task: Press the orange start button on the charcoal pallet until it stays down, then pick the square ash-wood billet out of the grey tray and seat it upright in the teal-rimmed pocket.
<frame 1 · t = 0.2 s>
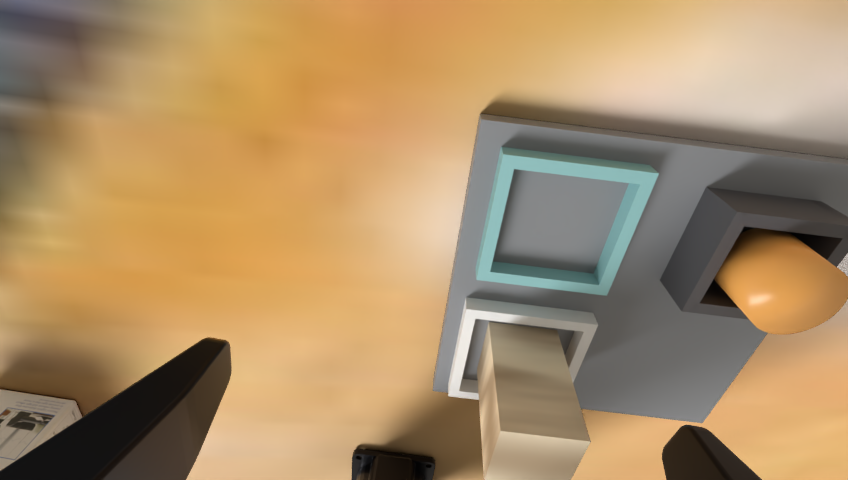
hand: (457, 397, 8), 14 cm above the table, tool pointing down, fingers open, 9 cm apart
billet: (515, 350, 26), point 1 cm above the table, touching pallet
light bulb box: (57, 430, 35), on the table
pallet: (608, 290, 24), on the table
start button: (774, 279, 18), point 4 cm above the table, slide at 0.0 cm
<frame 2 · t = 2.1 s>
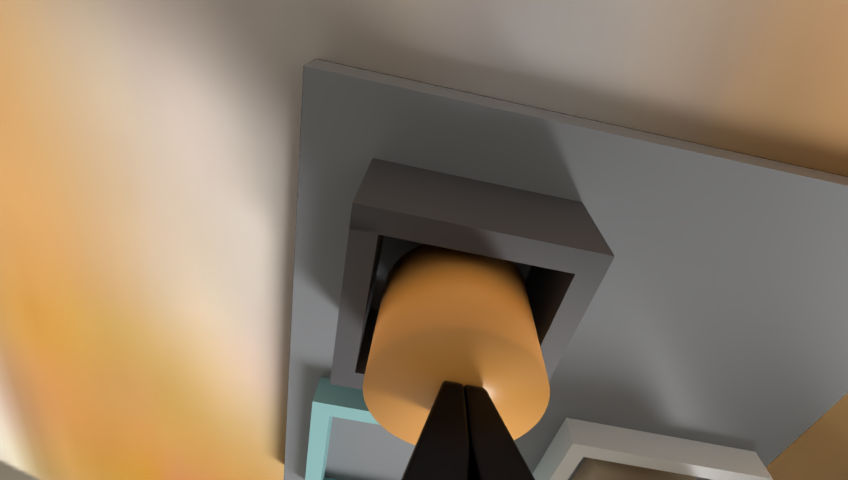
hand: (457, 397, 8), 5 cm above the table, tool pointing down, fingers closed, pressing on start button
pallet: (545, 374, 15), on the table
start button: (454, 341, 9), point 4 cm above the table, slide at 0.1 cm, touching gripper
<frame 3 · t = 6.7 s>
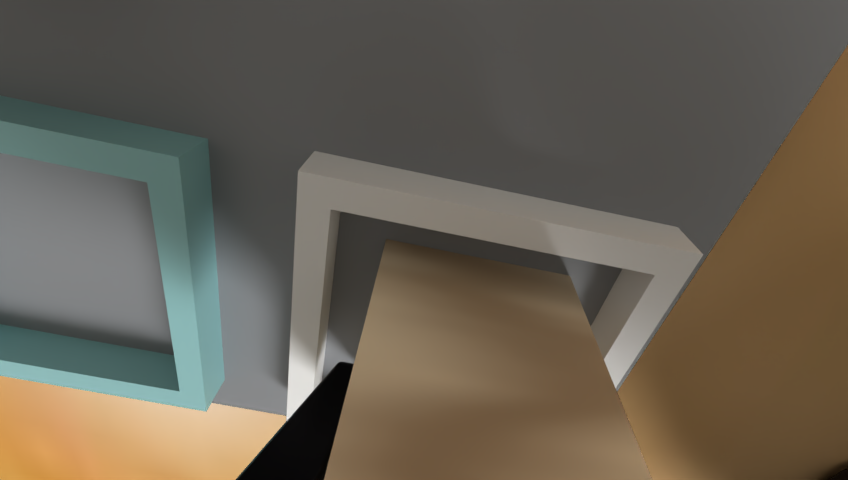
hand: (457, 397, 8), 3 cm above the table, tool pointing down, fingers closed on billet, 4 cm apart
billet: (456, 326, 10), point 1 cm above the table, touching gripper, pallet
pallet: (285, 80, 8), on the table
when the fingers open (4 cm above the table, at t = 10.9 s): billet moves 1 cm, resting on pallet.
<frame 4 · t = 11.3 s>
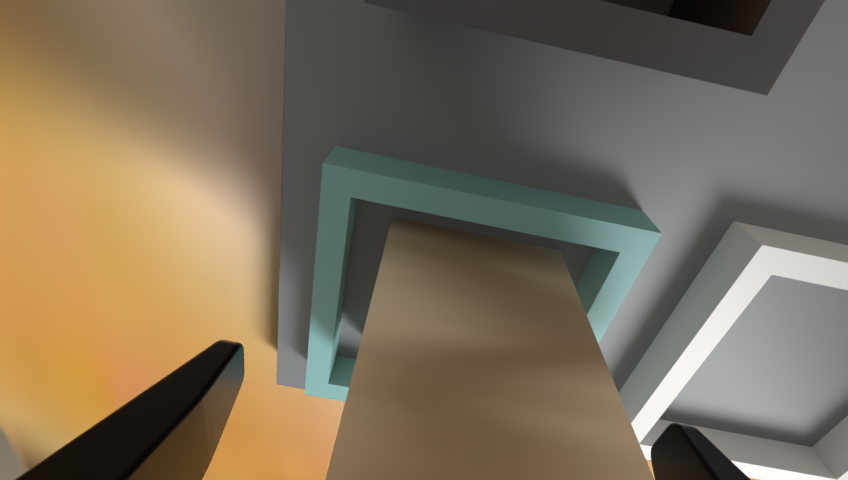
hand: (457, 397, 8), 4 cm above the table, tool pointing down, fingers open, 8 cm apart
billet: (456, 299, 11), point 1 cm above the table, touching pallet
pallet: (694, 158, 10), on the table
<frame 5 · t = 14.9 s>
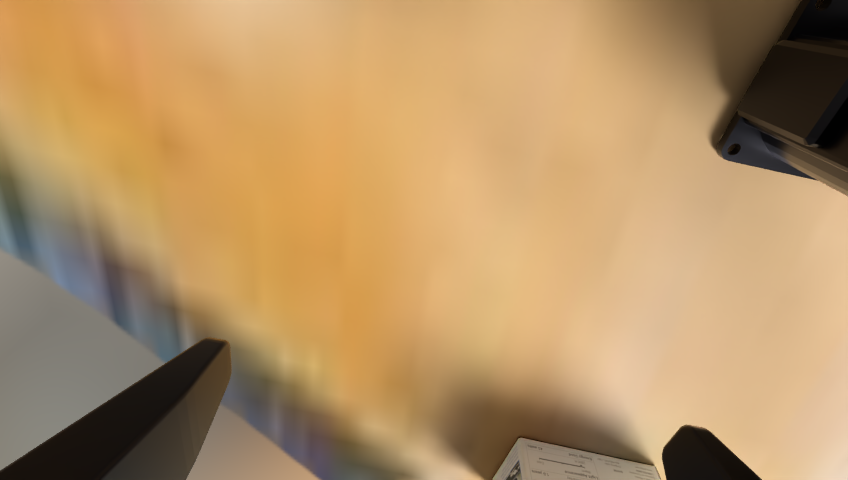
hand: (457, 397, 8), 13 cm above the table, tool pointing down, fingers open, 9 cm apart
light bulb box: (568, 471, 32), on the table
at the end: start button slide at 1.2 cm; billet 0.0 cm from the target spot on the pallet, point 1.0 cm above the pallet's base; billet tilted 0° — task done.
